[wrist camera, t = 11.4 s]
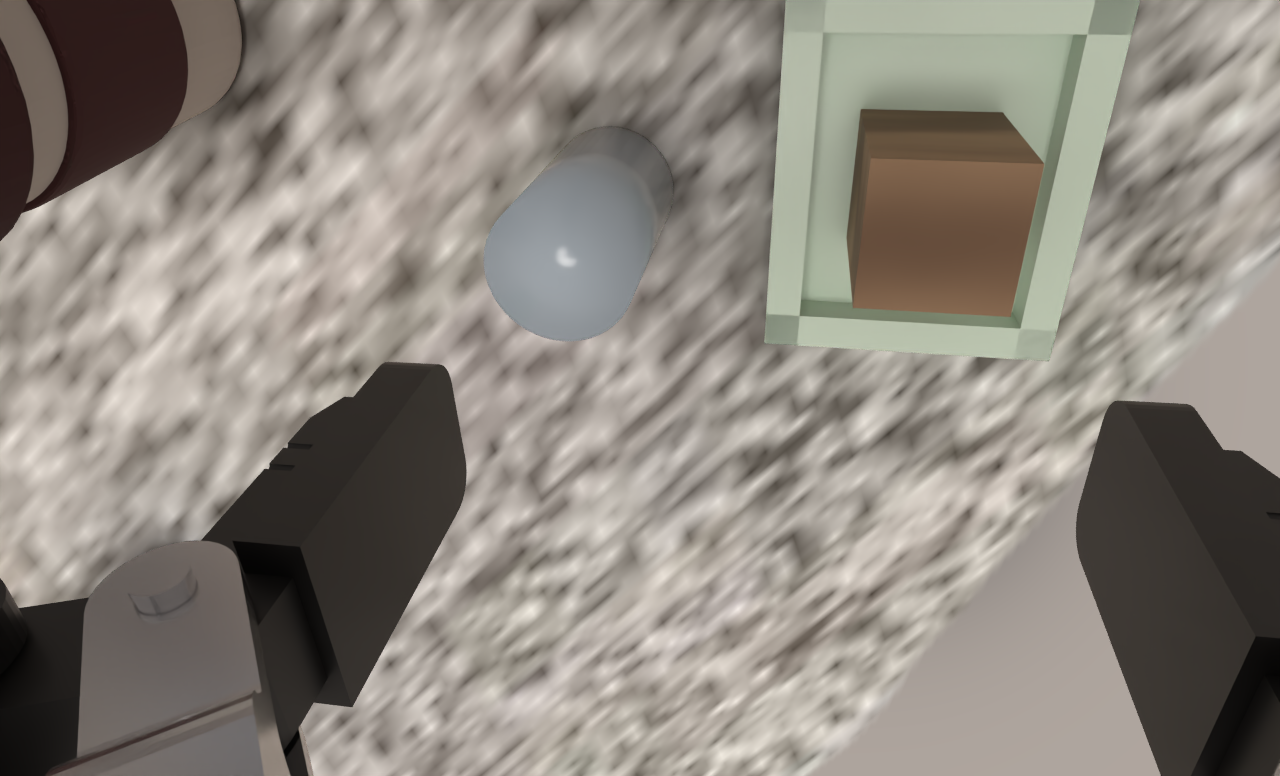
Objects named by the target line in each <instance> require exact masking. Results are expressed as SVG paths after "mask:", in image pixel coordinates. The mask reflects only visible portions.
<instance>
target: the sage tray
mask: <svg viewBox="0 0 1280 776" xmlns="http://www.w3.org/2000/svg"><path fill="white" fill-rule="evenodd" d="M1139 3H1140V0H786V5H785V21H784V37H783V53H782V69H781V85H780V101H779V117H778V133H777V149H776V165H775V181H774V197H773V213H772V229H771V245H770V261H769V277H768V293H767V309H766V325H765V341H764V343H767V344H783V345H799V346H815V347H830V348H846V349H862V350H878V351H894V352H910V353H926V354H941V355H957V356H973V357H989V358H1005V359H1021V360H1036V361H1049V360H1050V356H1051V352H1052V348H1053V344H1054V340H1055V336H1056V332H1057V328H1058V324H1059V320H1060V316H1061V312H1062V309H1063V305H1064V301H1065V297H1066V293H1067V289H1068V285H1069V281H1070V277H1071V273H1072V269H1073V265H1074V261H1075V257H1076V253H1077V249H1078V245H1079V241H1080V237H1081V233H1082V229H1083V225H1084V221H1085V217H1086V213H1087V209H1088V205H1089V201H1090V197H1091V193H1092V189H1093V185H1094V181H1095V178H1096V174H1097V170H1098V166H1099V162H1100V158H1101V154H1102V150H1103V146H1104V142H1105V138H1106V134H1107V130H1108V126H1109V122H1110V118H1111V114H1112V110H1113V106H1114V102H1115V98H1116V94H1117V90H1118V86H1119V82H1120V78H1121V74H1122V70H1123V66H1124V62H1125V58H1126V54H1127V50H1128V46H1129V43H1130V39H1131V35H1132V31H1133V27H1134V23H1135V19H1136V15H1137V11H1138V7H1139ZM861 109H881V110H924V111H967V112H1003V113H1004V115H1005V116H1006V117H1007V118H1008V119H1009V121H1010V122H1011V123H1012V124H1013V126H1014V127H1015V128H1016V129H1017V131H1018V132H1019V133H1020V134H1021V135H1022V137H1023V138H1024V139H1025V140H1026V142H1027V143H1028V144H1029V145H1030V147H1031V148H1032V149H1033V150H1034V152H1035V153H1036V154H1037V155H1038V156H1039V158H1040V159H1041V160H1042V161H1043V163H1044V169H1043V173H1042V178H1041V182H1040V187H1039V191H1038V196H1037V200H1036V205H1035V209H1034V214H1033V218H1032V223H1031V227H1030V232H1029V236H1028V241H1027V245H1026V250H1025V254H1024V259H1023V263H1022V268H1021V272H1020V277H1019V281H1018V286H1017V290H1016V295H1015V299H1014V304H1013V308H1012V313H1011V317H1001V316H983V315H966V314H949V313H931V312H914V311H897V310H880V309H862V308H853V304H852V293H851V282H850V271H849V261H848V250H847V239H846V237H847V228H848V219H849V210H850V201H851V192H852V183H853V174H854V165H855V156H856V147H857V138H858V129H859V120H860V111H861Z"/></svg>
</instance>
